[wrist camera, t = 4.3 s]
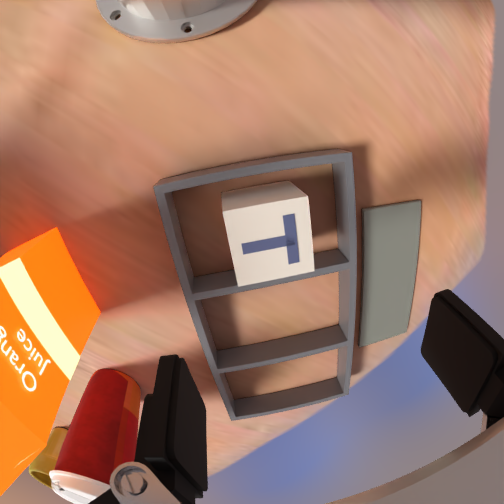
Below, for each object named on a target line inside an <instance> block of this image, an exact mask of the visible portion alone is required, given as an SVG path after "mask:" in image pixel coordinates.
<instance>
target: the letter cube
mask: <svg viewBox="0 0 504 504" xmlns="http://www.w3.org/2000/svg"><path fill="white" fill-rule="evenodd" d="M221 198H222V212H223V217H224V222H225V227H226V231H227V236H228V241H229V246H230V251H231V255H232V260H233V265H234V269H235V274H236V279H237V283H238V287H240V286H245V285H250V284H255V283H260V282H265V281H270V280H275V279H280V278H285V277H289V276H294V275H299V274H304V273H308V272H313V271H315V270H314V256H313V243H312V231H311V220H310V210H309V200H308V196H307V195H306V194H305V193H304V192H302V191H301V190H300V189H299V188H298V187H296V186H295V185H294V184H293V183H291V182H290V181H289V180H288V181H282V182H276V183H270V184H264V185H258V186H253V187H247V188H242V189H236V190H231V191H226V192H221Z"/></svg>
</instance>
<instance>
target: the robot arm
mask: <svg viewBox="0 0 504 504" xmlns="http://www.w3.org/2000/svg"><path fill="white" fill-rule="evenodd" d="M256 1H257V0H96V5H97V8H98V10H99V12H100V14H101V16H102V17H103V18H104V19H105V20H106V22H107V23H108V24H109V25H110V26H112V27H113V28H114V29H115V30H117V31H118V32H120V33H122V34H124V35H126V36H128V37H130V38H133V39H136V40H140V41H144V42H153V43H178V42H183V41H189V40H195V39H198V38H201V37H204V36H207V35H211V34H213V33H215V32H217V31H219V30H222V29H224V28H226V27H228V26H229V25H231V24H232V23H234V22H235V21H237V20H239V19H240V18H241V17H242V16H243V15H245V14H246V13H247V12H248V11H249V10H250V9H251V8H252V7H253V5H254V4H255V3H256ZM119 16H121V17H120V18H119V19H117V18H118V17H119ZM188 28H190V29H192V31H191V32H189V33H186V32H185V30H186V29H188ZM421 354H422V356H423V358H424V359H425V360H426V362H427V363H428V364H429V365H430V367H431V368H432V369H433V371H434V372H435V374H436V375H437V376H438V378H439V379H440V380H441V382H442V383H443V384H444V386H445V387H446V388H447V390H448V391H449V393H450V394H451V396H452V397H453V398H454V400H455V401H456V403H457V404H458V406H459V407H460V408H461V410H462V411H463V412H466V413H467V414H468V416H469V417H470V416H472V415H474V414H475V413H477V412H478V411H479V410H480V409H481V410H482V411H483V418H482V427H481V433H480V434H479V435H478V436H476V437H474V438H473V439H471V440H470V441H468V442H467V443H465V444H463V445H462V446H460V447H458V448H457V449H455V450H453V451H452V452H450V453H448V454H446V455H445V456H443V457H441V458H439V459H437V460H435V461H434V462H432V463H430V464H428V465H426V466H424V467H422V468H420V469H418V470H415V471H413V472H411V473H409V474H407V475H405V476H402V477H400V478H398V479H395V480H393V481H391V482H388V483H386V484H383V485H381V486H378V487H376V488H373V489H370V490H368V491H365V492H362V493H359V494H356V495H353V496H350V497H347V498H344V499H340V500H337V501H333V502H330V503H326V504H504V339H503V338H502V337H501V336H500V335H499V334H498V333H497V332H496V331H495V330H494V329H493V328H492V327H491V326H490V325H488V324H487V323H486V322H485V321H484V320H483V319H482V318H481V317H480V316H479V315H478V314H477V313H476V312H474V311H473V310H472V309H471V308H470V307H469V306H468V305H467V304H466V303H464V302H463V301H462V300H461V299H460V298H459V297H458V296H456V295H455V294H454V293H453V292H452V291H451V290H449V289H446V290H443V291H440V292H438V293H436V294H435V295H434V298H433V299H432V301H431V305H430V311H429V316H428V320H427V325H426V329H425V334H424V338H423V342H422V346H421ZM207 489H208V481H207V444H206V408H205V404H204V402H203V400H202V398H201V395H200V393H199V391H198V389H197V387H196V385H195V382H194V380H193V378H192V376H191V373H190V371H189V369H188V367H187V364H186V362H185V360H184V358H179V357H178V355H176V354H175V355H168V356H161V357H160V359H159V364H158V370H157V375H156V381H155V386H154V392H153V394H147V395H146V397H145V400H144V405H143V410H142V415H141V421H140V427H139V433H138V439H137V445H136V452H135V459H134V462H126V463H123V464H121V465H119V466H118V467H117V468H116V469H115V470H114V471H113V473H112V474H111V477H110V489H108V490H107V491H106V492H104V493H103V494H101V495H100V496H98V497H97V498H96V499H94V500H93V501H91V502H90V503H88V504H195V498H203V491H207Z"/></svg>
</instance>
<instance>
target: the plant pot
mask: <svg viewBox="0 0 504 504" xmlns="http://www.w3.org/2000/svg"><path fill="white" fill-rule="evenodd" d="M67 432H68V429H64V428H58V427H57V428H53V429H52V431H51V433H50V434H49V437H48V440H47V443H46V445H47V446H46V447H45V448H44V449H43V450H42V451H41V452H40V453H39V454H38V455H37V456H36V458H35V459H34V460H33V461H32V462H31V463H30V466H29V473H30V474H31V476H33V477H34V478H35V479H37V480H38V481H39V482H41V483H42V484H44V485H46V486H48V487H50V488H52V486H51V484H52V479H51V478H50V475H49V472H50V471H52V470H54V468H55V465H56V462H57V459H58V456H59V453H60V450H61V447H62V444H63V442H64V439H65V437H66V434H67Z"/></svg>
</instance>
